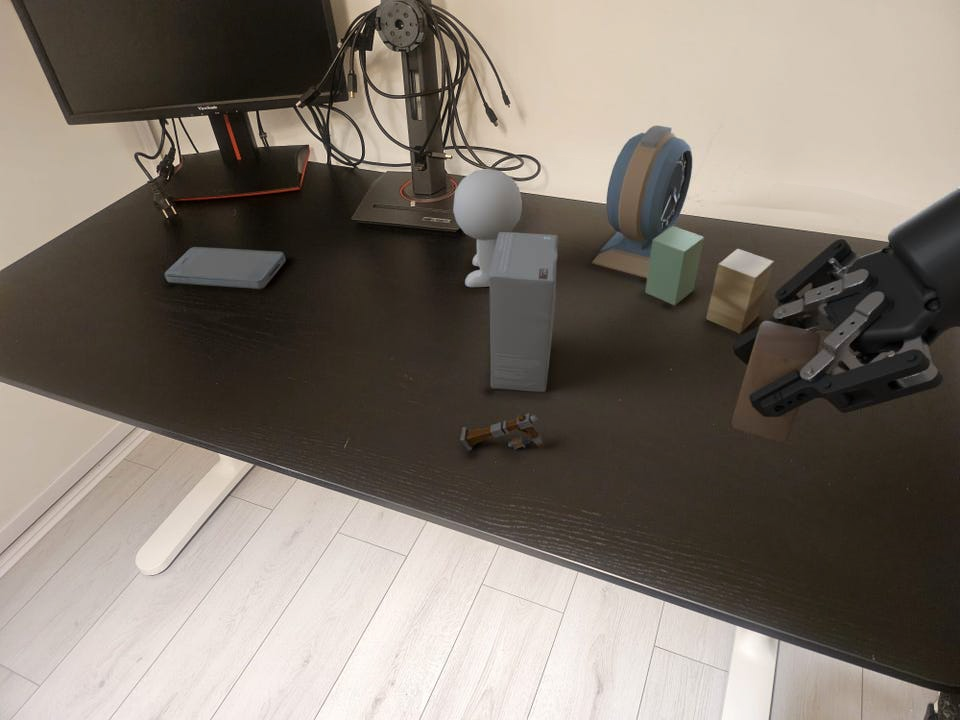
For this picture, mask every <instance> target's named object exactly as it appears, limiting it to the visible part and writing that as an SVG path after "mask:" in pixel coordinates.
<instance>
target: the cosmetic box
mask: <svg viewBox="0 0 960 720" xmlns="http://www.w3.org/2000/svg"><path fill="white" fill-rule="evenodd" d="M558 239H559V237H558V235H556V234H543V233H529V232H528V233H527V232H513V231H512V232H499V233H498V237H497V241H496V245H495V249H494V253H493V258H492V262H491V267H490V272H489V280H490V286H489V325H490V326H489V330H490V331H489V335H490V336H489V342H490V343H489V344H490V349H489V350H490V360H489V361H490V387H491V389H493V390H510V391H522V392H523V391H525V392H537V393H539V392H541V393H544V392H545V393H546V391H547V384H548V374H549V366H550V360H551V359H550V358H551V350H552V349H551V348H552V337H553V328H554V321H555V320H554V319H555V309H556V288H557V287H556V286H557V285H556V284H557V283H556V282H557V281H556V280H557V261H558V260H557V259H558V257H559V256H558Z"/></svg>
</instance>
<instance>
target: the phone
mask: <svg viewBox="0 0 960 720" xmlns="http://www.w3.org/2000/svg"><path fill="white" fill-rule="evenodd" d="M286 261H287V260H286V256H285V254H284V252H283V251H274V250H273V251H272V250H257V249H256V250H255V249H240V248H239V249H238V248H220V247H204V246H203V247H202V246H193V247H191V248H189V249H188V250H186V252H185V253H183V255H182V256H180V257H179V259H178V260H177V261H175V262H174V263H173V264H172V265H171V266H170V267H169V268H168V269H167V270H166V271H164V274H163V275H164V277H165V280H166V281H167V283H168V284H169V283H170V284H181V285H182V284H183V285H195V286H196V285H197V286H198V285H199V286H211V287H225V288H226V287H227V288H239V289H241V288H242V289H253V290H254V289H255V290H262V289H265V288H266V286H267V285H268V284H269V283H270V282H271V281H272V280H273V278H274V277H275V276H276V274H277V273H278V272H279V270H280V269H281V268H283V267H282V266H283V265H284V264H285V263H286Z"/></svg>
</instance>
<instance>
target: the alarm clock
mask: <svg viewBox="0 0 960 720" xmlns="http://www.w3.org/2000/svg"><path fill="white" fill-rule="evenodd" d="M672 129H673V128H672V127H669V126H662V125H653V126H651V127H649V128H648V130H646V132H640V133H638V134H635V135H634V136H632V137H630V138H629V139H628V140H627V141H626V143H624V145H623V147H622V149H621V150H620V152H619V154H618V155H617V158H616V160H615V162H614V165H613V167H612V171H611V174H610V177H609V181H608V186H607V192H606V202H605V203H606V206H605V207H606V215H607V221H608V222H609V225H610V226H611V227H612V228H613V229H614V230H615V231H616V232H615V234H614V235H613V236H611V238H610V239H609V240H608V241H607V242H606V244H604V246H602V248H601V249H599V253H598V254H597V256H596V257H595V258H594V259H593V260H592V262H591V264H593V265H597V266H600V267H604V268H608V269H612V270H616V271H619V272H622V273H625V274H629V275H633V276H637V277H641V278H645V279H647V277H648V270H649V263H650V255H651V248H652V241H653V239H654V238H656V237H657V236H659V235H660V234H662V233H663V232H665V231H666V230H667V229H669V228H670V227H672V226H675V225H676V223H677V222H678V219H679V217H680V215H681V212H682V210H683V207H684V205H685V201H686V199H687V195H688V191H689V188H690V183H691V180H692V179H691V178H692V173H693V154H692V148H691V146H690V145H689V144H688V143H687V141H685V140H684V139H682V138H679V137H677V136H676V135H675V133H673V132H672Z"/></svg>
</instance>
